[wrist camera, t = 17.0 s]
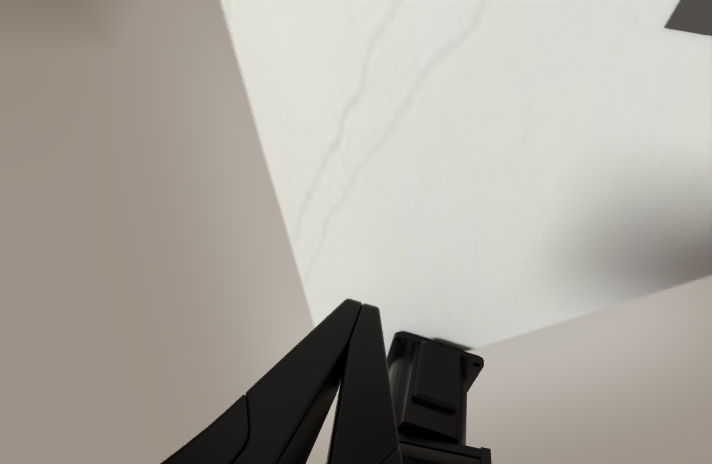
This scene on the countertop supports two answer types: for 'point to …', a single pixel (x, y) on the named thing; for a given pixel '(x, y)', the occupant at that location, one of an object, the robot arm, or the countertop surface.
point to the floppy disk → (692, 17)
